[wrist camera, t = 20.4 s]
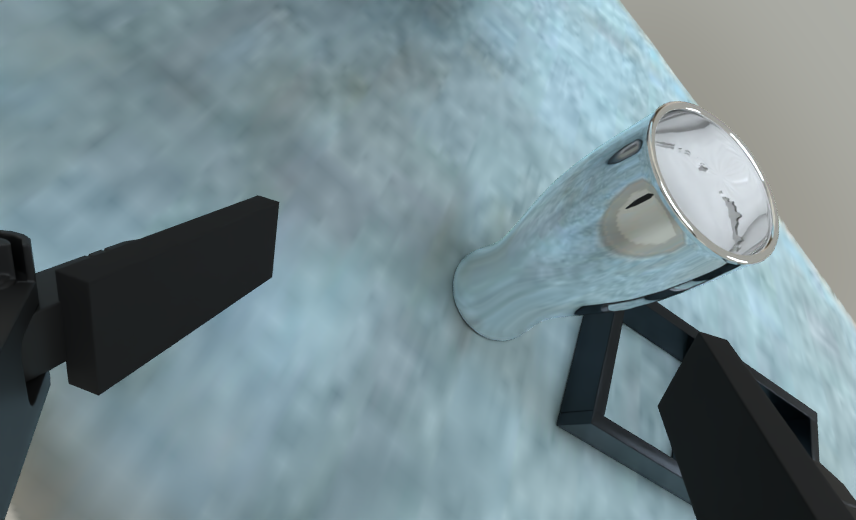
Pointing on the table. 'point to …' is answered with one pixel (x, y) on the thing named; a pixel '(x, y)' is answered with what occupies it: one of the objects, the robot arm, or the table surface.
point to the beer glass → (626, 227)
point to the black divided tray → (594, 379)
